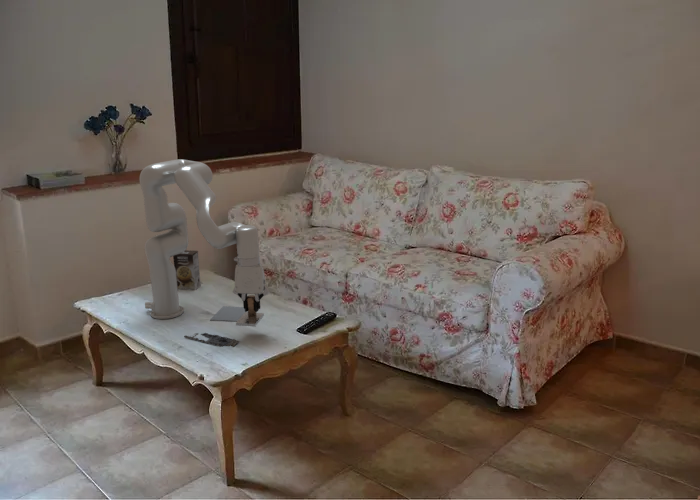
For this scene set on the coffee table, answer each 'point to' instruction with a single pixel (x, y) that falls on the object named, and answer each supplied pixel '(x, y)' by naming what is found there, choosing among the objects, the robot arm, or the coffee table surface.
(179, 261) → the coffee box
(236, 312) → the mat
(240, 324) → the trowel
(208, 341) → the driftwood
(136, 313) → the coffee table surface
